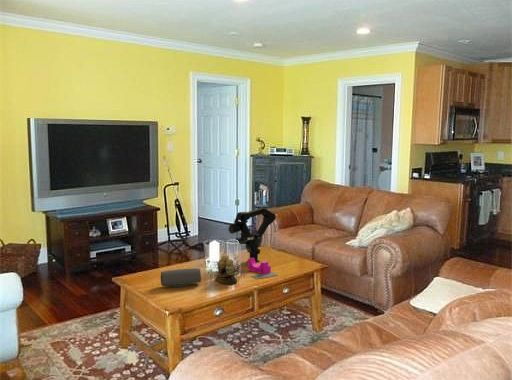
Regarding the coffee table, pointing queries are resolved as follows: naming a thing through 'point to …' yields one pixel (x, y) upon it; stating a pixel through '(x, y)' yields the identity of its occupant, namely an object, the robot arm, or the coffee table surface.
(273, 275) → the mat
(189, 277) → the bluetooth speaker
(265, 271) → the toy block
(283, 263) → the coffee table surface
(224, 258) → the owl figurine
